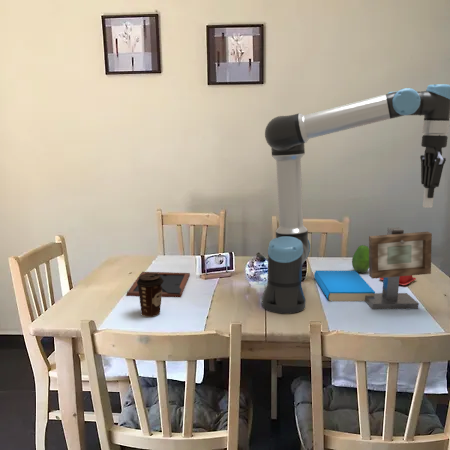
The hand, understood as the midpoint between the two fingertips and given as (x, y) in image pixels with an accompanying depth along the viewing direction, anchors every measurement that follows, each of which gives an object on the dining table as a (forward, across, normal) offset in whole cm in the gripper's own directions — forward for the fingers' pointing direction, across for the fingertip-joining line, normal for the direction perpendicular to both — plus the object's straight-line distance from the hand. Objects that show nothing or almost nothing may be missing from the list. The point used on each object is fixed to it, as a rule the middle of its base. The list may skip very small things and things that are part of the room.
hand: (427, 207), depth 157 cm
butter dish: (+36, +28, -4) cm, 46 cm away
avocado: (+36, +40, +7) cm, 54 cm away
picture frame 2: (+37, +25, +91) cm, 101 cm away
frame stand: (+35, +4, +8) cm, 37 cm away
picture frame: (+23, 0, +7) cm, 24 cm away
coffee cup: (+36, -3, +91) cm, 98 cm away
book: (+36, +19, +21) cm, 46 cm away
